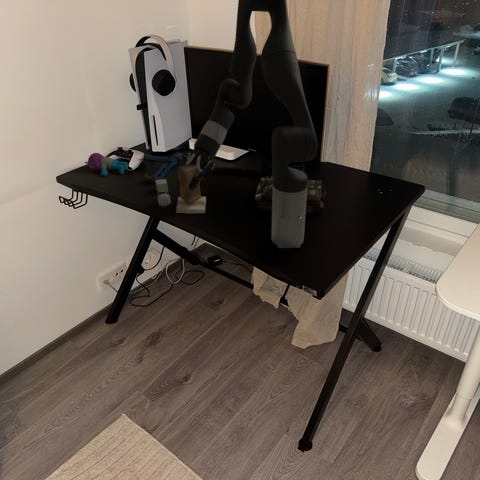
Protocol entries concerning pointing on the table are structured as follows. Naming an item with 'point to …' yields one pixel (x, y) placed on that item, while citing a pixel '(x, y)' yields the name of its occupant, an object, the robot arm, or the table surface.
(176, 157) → the toy character
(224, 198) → the table surface
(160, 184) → the sage cube
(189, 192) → the walnut post
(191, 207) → the birch coaster
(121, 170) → the toy
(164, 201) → the grey rubber puck
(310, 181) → the model tank
